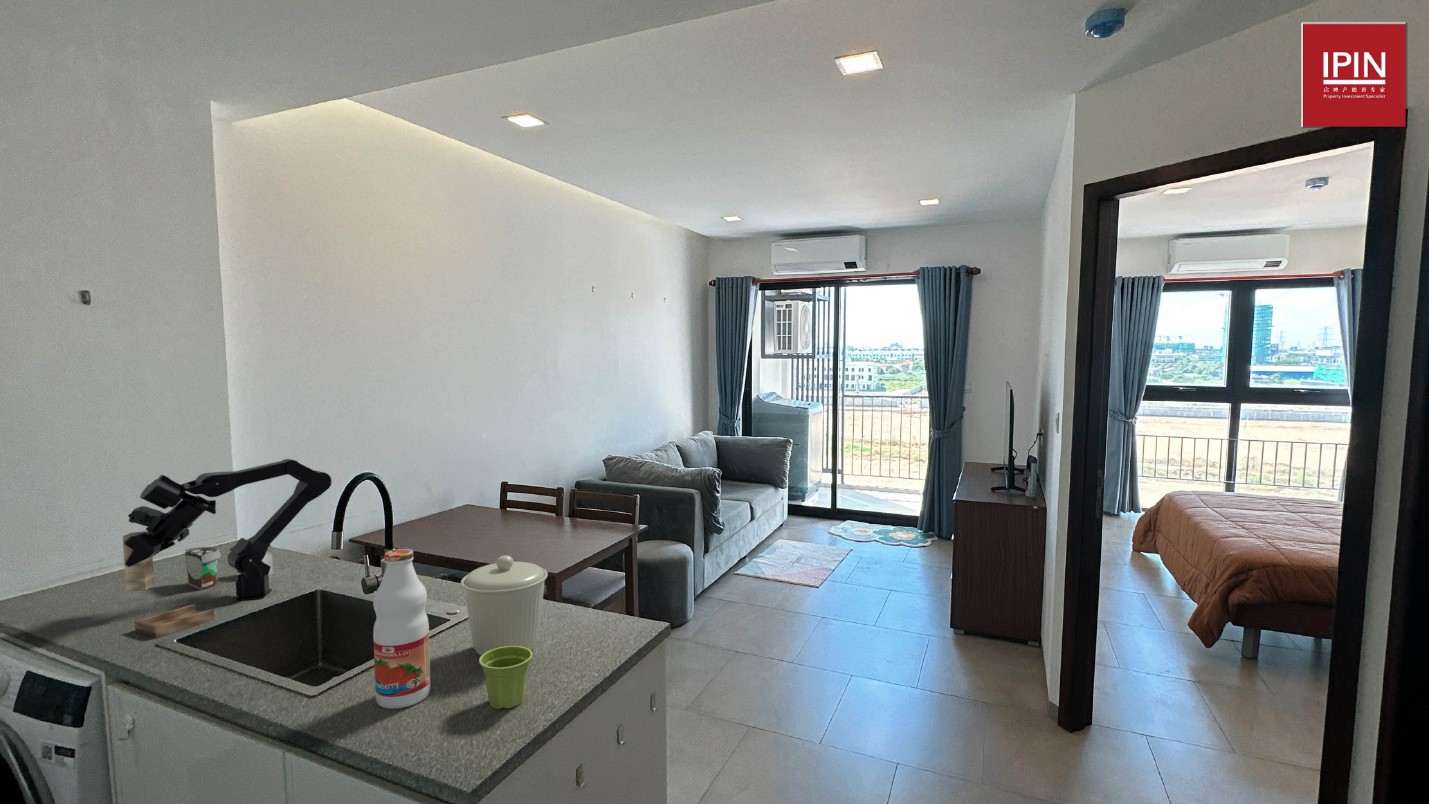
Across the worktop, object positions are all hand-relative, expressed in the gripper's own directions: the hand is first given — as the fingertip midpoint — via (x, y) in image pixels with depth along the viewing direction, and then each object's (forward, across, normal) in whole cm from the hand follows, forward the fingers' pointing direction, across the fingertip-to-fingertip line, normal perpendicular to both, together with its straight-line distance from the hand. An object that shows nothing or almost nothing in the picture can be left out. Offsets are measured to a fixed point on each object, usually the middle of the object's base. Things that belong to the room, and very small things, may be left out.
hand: (132, 562), depth 163 cm
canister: (-54, +48, +74) cm, 103 cm away
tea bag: (-3, -28, +22) cm, 36 cm away
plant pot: (-54, +71, +74) cm, 116 cm away
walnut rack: (0, +10, +19) cm, 21 cm away
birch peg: (+4, 0, +6) cm, 7 cm away
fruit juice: (-41, +64, +61) cm, 97 cm away
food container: (+5, -23, +14) cm, 27 cm away
